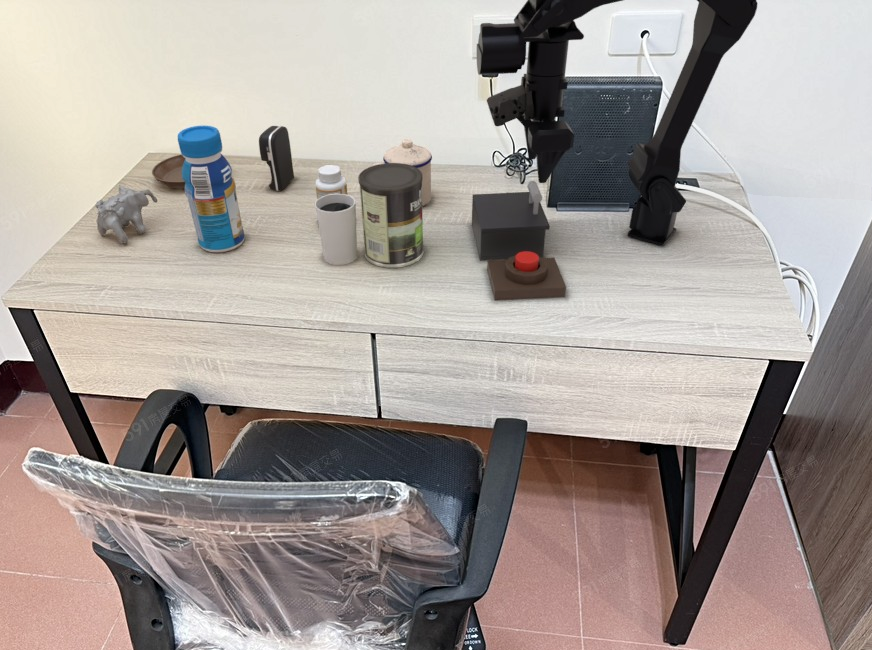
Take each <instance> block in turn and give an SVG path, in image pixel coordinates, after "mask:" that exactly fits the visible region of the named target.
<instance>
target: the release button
mask: <svg viewBox="0 0 872 650" xmlns="http://www.w3.org/2000/svg"><path fill="white" fill-rule="evenodd" d="M538 262H539V256H538V255H537V254H536V253H533V252H529V251H524V252H520V253H518V254H517V255H516V258H515V268H516V269H517V270H519V271H524V272H533V271H535V270H537V268H538Z"/></svg>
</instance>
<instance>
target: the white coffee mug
mask: <svg viewBox="0 0 872 650" xmlns="http://www.w3.org/2000/svg"><path fill="white" fill-rule="evenodd" d="M314 207H315V213H316V219H317V224H318V225H317V226H318V230H319V237H320V243H321V248H322V254H323V261H324V262H326V263H327V264H330V265H334V266H344V265H348V264H351V263H353V262H354V261H355V260H356V259H357V257H358V240H357V239H358V238H357V237H358V236H357V209H356V200H355V198H354V197H353V196H351V195H349V194H347V195H346V194H329V195H326V196H322V197H321V198H319V199H317V198H316V201H315V202H314Z"/></svg>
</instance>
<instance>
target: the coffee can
mask: <svg viewBox="0 0 872 650" xmlns="http://www.w3.org/2000/svg"><path fill="white" fill-rule="evenodd" d="M384 163H385V162H384ZM422 179H423V175H422V172H421V171H420V170H419V169H418V168H416V167H414V166H411V165H407V164H401V163H385V164H379V165H374V166H372V165H371V166H368V167H367V168H365V169H363V170H362V171H361V172H360V173H359V174H358V177H357V180H358V184H359V195H360V207H361V219H362V230H363V245H364V257H365V259H366V260H367V261H368V262H369V263H370V264H372V265H374V266H377V267H381V268H387V269H396V268H397V269H398V268H404V267H408V266H410V265H411V266H412V265H413V264H415V263H417V262H419V261H420V260H421V259H422V257H423V256H424V226H423V225H424V223H423V222H424V221H423V219H424V218H423V206H422Z"/></svg>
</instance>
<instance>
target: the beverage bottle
mask: <svg viewBox="0 0 872 650" xmlns="http://www.w3.org/2000/svg"><path fill="white" fill-rule="evenodd" d="M221 137H222V136H221V133H220V130H219V129H218V128H216V127H215V126H213V125H194V126H189V127H186V128H184V129H182V130H180V131H179V133H178V134H177V142H178V147H179V151H180V155H181V154H182V156H183V157H185V161H184V163H183V167H182V178H183V180H184V181H185V182H186V183H185V189H184V193H185V196H186V198H187V202H188V206H189V209H190V213H191V218H192V221H193V225H194V229H195V233H196V237H197V243H198V245H199V247H200V248H201V249H202V250H204V251H206V252H210V253H226V252H229V251H233V250H235V249H237V248H238V247H240V246H241V245H242V244H243V243H244V241H245V238H246V237H245V236H246V235H245V232H244V226H243V222H242V217H241V210H240V206H239V201H238V196H237V195H238V194H237V187H236V182H235V180H234V178H233V176H232V172H233V169H232V166H231V163H230V162H229V161H228V160H227V158H226V157H225V156H224V155H223V154H222V151H223V142H222V138H221Z"/></svg>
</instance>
